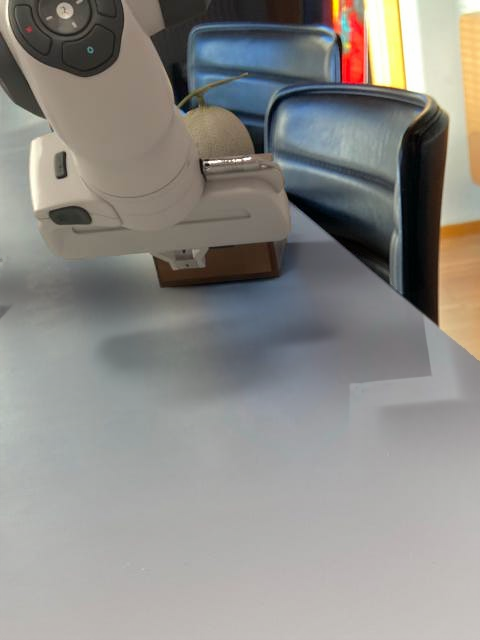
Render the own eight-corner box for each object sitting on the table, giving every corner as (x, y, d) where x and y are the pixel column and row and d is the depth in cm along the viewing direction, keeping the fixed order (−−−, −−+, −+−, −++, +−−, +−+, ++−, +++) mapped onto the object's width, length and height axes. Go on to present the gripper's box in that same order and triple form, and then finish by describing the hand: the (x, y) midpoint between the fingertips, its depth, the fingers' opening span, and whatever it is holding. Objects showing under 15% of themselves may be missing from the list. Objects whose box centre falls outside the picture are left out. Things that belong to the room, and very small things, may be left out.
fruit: (162, 207, 136) (133, 81, 128) (231, 189, 143) (208, 68, 134) (209, 217, 131) (181, 86, 122) (278, 197, 137) (257, 71, 128)
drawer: (268, 284, 103) (254, 202, 98) (155, 294, 102) (135, 212, 98) (279, 239, 116) (266, 166, 112) (179, 248, 116) (162, 175, 111)
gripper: (274, 119, 79) (301, 219, 93) (9, 142, 78) (75, 239, 92) (280, 192, 78) (306, 283, 92) (12, 217, 77) (78, 304, 91)
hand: (189, 261), depth 92 cm, fingers closed
